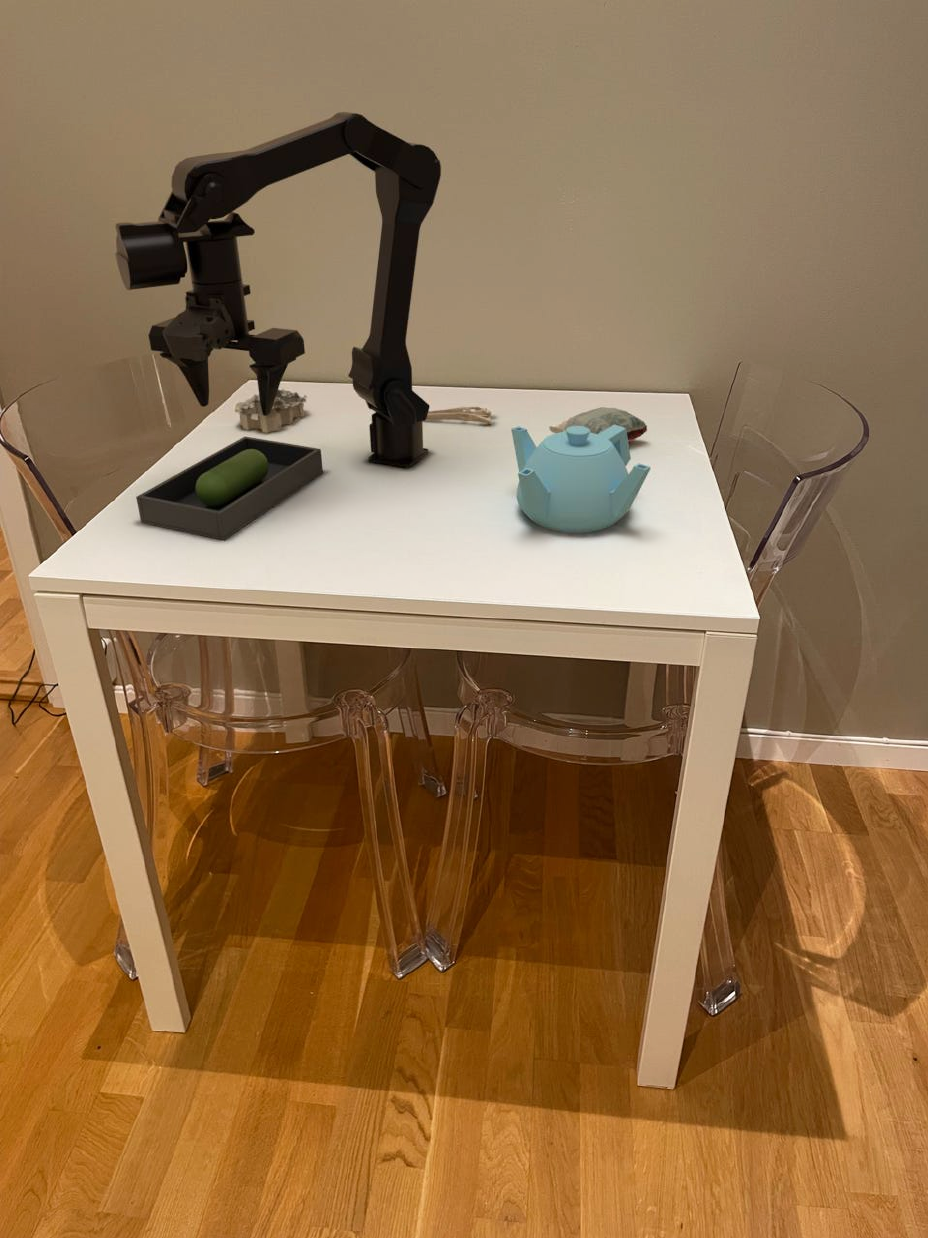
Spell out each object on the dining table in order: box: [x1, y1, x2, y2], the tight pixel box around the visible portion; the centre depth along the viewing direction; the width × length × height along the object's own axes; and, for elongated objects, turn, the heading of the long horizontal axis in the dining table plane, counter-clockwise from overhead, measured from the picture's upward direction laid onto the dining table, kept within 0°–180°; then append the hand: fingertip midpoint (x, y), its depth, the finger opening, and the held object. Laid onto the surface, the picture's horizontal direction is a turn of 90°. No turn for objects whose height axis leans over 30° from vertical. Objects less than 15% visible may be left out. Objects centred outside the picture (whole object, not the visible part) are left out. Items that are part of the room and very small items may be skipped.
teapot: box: [511, 424, 651, 534], centre depth 113 cm, size 15×15×11 cm
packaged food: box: [549, 406, 648, 443], centre depth 135 cm, size 9×12×5 cm
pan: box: [135, 436, 324, 541], centre depth 120 cm, size 12×22×3 cm, turn 156°
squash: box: [195, 449, 269, 507], centre depth 120 cm, size 4×12×4 cm, turn 156°
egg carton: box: [234, 388, 308, 434], centre depth 144 cm, size 11×8×4 cm
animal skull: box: [425, 406, 492, 425], centre depth 145 cm, size 17×5×2 cm, turn 87°
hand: (235, 410), depth 117 cm, fingers open, 9 cm apart
